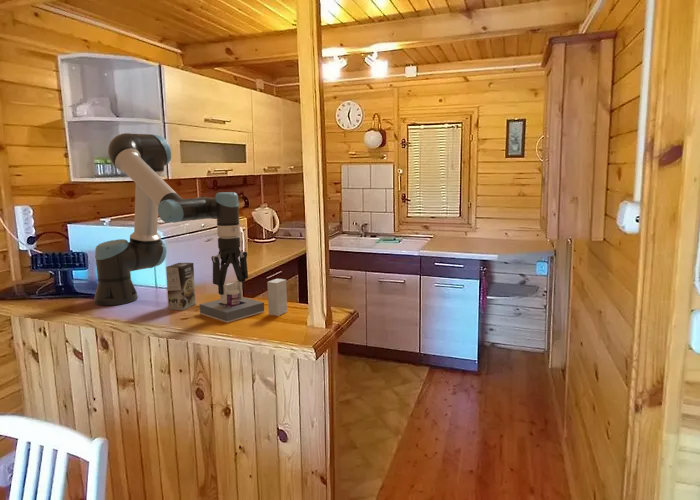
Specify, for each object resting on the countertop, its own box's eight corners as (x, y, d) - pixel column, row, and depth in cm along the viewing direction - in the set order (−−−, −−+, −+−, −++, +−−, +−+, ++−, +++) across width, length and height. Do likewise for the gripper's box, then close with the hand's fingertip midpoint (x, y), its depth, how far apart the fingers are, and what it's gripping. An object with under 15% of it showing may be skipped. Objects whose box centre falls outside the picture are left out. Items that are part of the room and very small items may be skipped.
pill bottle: (234, 313, 172) (233, 286, 171) (221, 311, 174) (220, 285, 173) (242, 309, 177) (242, 283, 176) (230, 307, 179) (229, 282, 178)
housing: (200, 313, 175) (199, 304, 174) (237, 304, 187) (236, 295, 186) (227, 322, 165) (226, 312, 164) (264, 311, 177) (264, 302, 176)
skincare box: (277, 310, 179) (276, 278, 177) (287, 311, 177) (286, 279, 175) (267, 314, 173) (266, 281, 171) (278, 316, 171) (276, 282, 169)
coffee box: (184, 310, 179) (181, 267, 176) (168, 309, 180) (165, 266, 177) (196, 303, 188) (194, 262, 185) (181, 303, 189) (178, 261, 186)
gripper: (211, 241, 162) (215, 308, 166) (257, 234, 176) (259, 297, 180) (198, 239, 166) (202, 305, 170) (244, 233, 181) (246, 294, 185)
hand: (231, 301), depth 175 cm, fingers open, 6 cm apart
